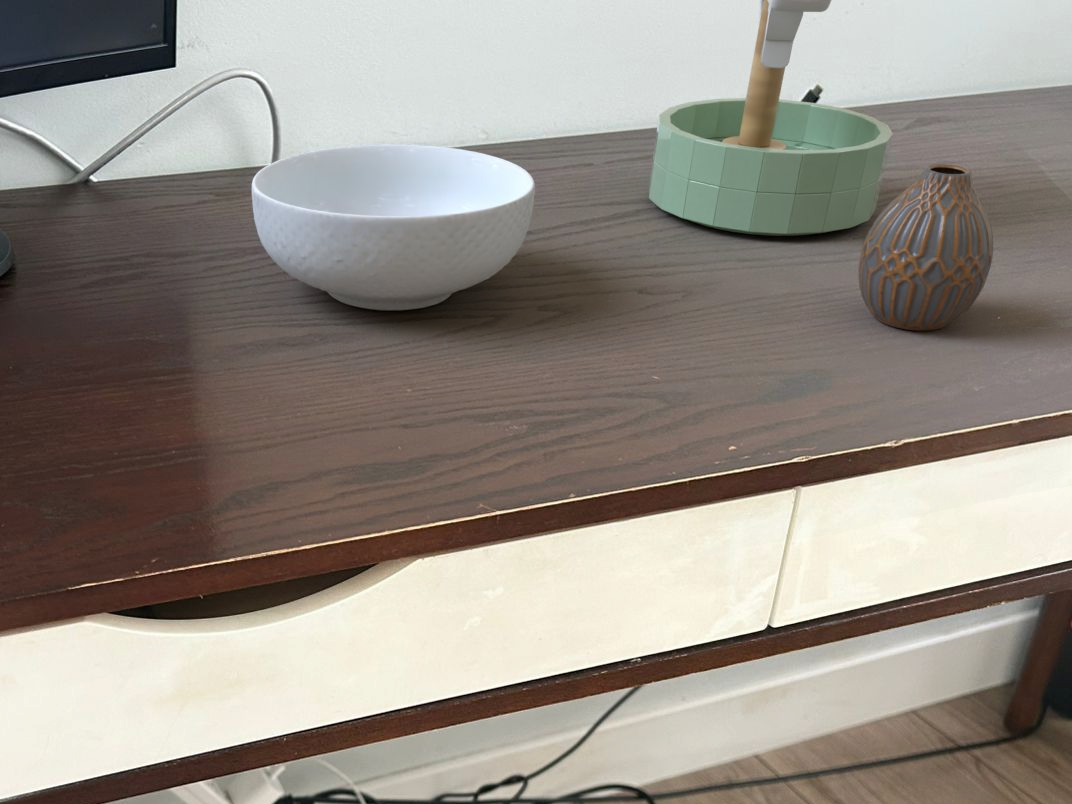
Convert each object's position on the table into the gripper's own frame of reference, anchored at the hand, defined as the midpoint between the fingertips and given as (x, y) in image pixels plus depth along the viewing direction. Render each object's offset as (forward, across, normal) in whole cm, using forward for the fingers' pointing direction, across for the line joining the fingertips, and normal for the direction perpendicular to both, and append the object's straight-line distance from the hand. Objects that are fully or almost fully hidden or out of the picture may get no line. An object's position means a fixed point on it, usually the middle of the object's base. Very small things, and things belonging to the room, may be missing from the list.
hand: (770, 60), depth 94 cm
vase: (+10, -21, -8) cm, 25 cm away
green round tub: (+10, 0, -1) cm, 10 cm away
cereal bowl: (+10, -22, +23) cm, 34 cm away
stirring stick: (+7, 0, 0) cm, 7 cm away
